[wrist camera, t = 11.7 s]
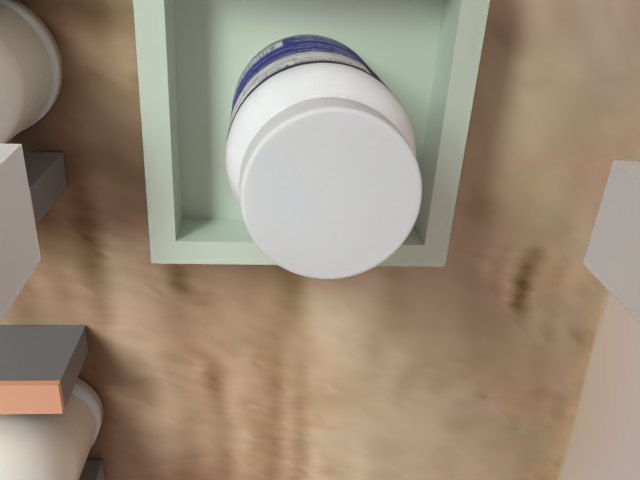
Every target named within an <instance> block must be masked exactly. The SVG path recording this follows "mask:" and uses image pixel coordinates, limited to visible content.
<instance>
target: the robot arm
mask: <svg viewBox="0 0 640 480" xmlns="http://www.w3.org/2000/svg"><path fill="white" fill-rule="evenodd" d="M40 260H41V256H40V250H39V244H38V238H37V232H36V226H35V220H34V215H33V209H32V203H31V197H30V191H29V185H28V179H27V173H26V167H25V161H24V155H23V149H22V144H4V143H0V324H1V322H2V321H3V319H4V317H5V316H6V314H7V313H8V311H9V309H10V308H11V306H12V305H13V303H14V301H15V300H16V298H17V297H18V295H19V294H20V292H21V290H22V289H23V287H24V286H25V284H26V282H27V281H28V279H29V278H30V276H31V274H32V273H33V271H34V270H35V268H36V266H37V265H38V263H39V262H40ZM583 264H584V265H585V266H586V268H587V269H588V270H589V271H590V272H591V273H592V274H593V275H594V276H595V277H596V278H597V279H598V280H599V281H600V282H601V283H602V284H603V285H604V286H605V288H606V289H607V290H608V291H609V292H610V293H611V294H612V295H613V296H614V297H615V298H616V299H617V300H618V301H619V302H620V303H621V304H622V305H623V306H624V307H625V309H627V311H628V312H629V313H630V314H631V315H632V316H633V317H634V318H635V319H636V320H637V321H638V322H639V323H640V161H613V164H612V167H611V171H610V174H609V177H608V181H607V184H606V187H605V191H604V194H603V197H602V201H601V204H600V208H599V211H598V214H597V218H596V221H595V224H594V228H593V231H592V235H591V238H590V241H589V245H588V248H587V251H586V255H585V258H584V261H583Z"/></svg>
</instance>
